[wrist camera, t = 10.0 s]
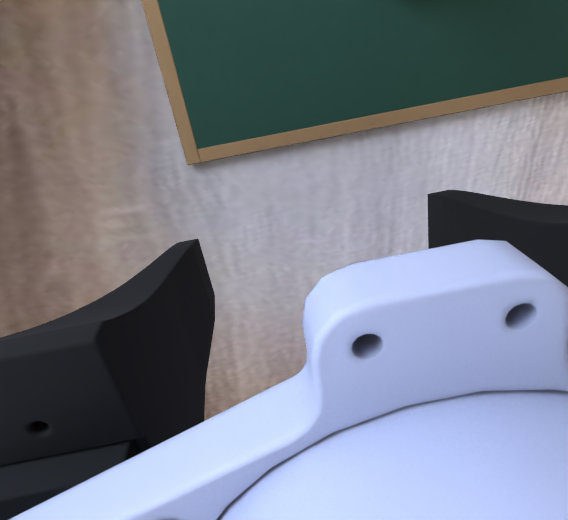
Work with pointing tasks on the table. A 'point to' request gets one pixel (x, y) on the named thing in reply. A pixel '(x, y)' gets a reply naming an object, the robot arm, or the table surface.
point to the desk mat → (345, 65)
